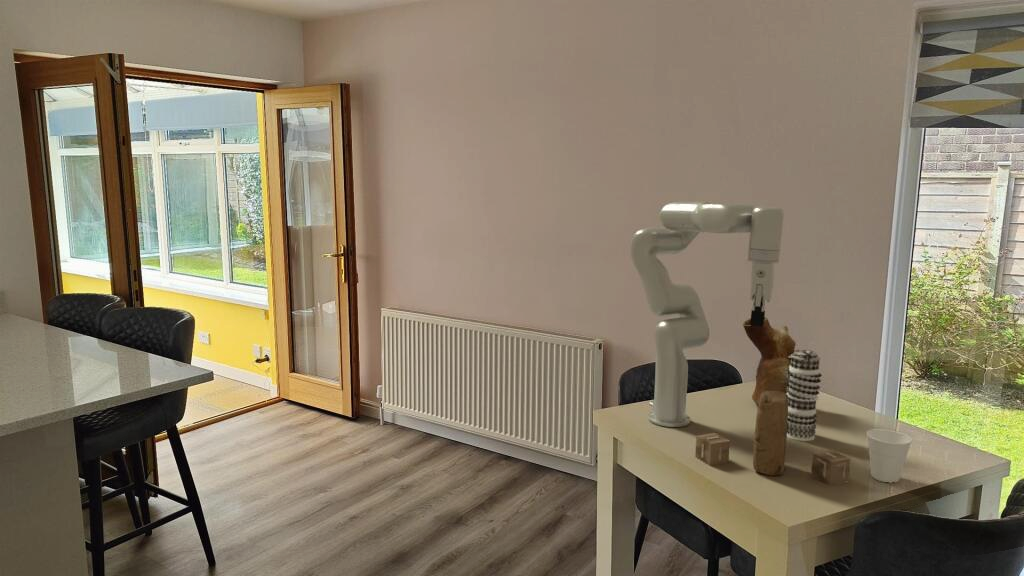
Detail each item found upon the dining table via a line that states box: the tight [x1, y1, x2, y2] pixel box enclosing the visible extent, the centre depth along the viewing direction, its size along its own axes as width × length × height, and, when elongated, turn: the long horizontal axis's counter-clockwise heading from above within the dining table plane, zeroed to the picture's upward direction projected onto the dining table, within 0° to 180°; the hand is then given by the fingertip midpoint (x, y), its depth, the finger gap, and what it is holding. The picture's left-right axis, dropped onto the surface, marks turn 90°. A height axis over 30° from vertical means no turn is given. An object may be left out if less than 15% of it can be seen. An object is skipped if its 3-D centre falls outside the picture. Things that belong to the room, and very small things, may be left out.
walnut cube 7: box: [810, 449, 851, 486], centre depth 170 cm, size 6×6×6 cm
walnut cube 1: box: [694, 432, 731, 467], centre depth 180 cm, size 6×6×6 cm
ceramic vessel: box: [742, 315, 797, 406], centre depth 222 cm, size 16×22×30 cm
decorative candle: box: [786, 348, 822, 442], centre depth 197 cm, size 9×9×25 cm
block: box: [752, 391, 788, 476], centre depth 174 cm, size 11×8×20 cm
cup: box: [866, 428, 913, 484], centre depth 170 cm, size 10×10×11 cm
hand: (756, 325), depth 178 cm, fingers closed
